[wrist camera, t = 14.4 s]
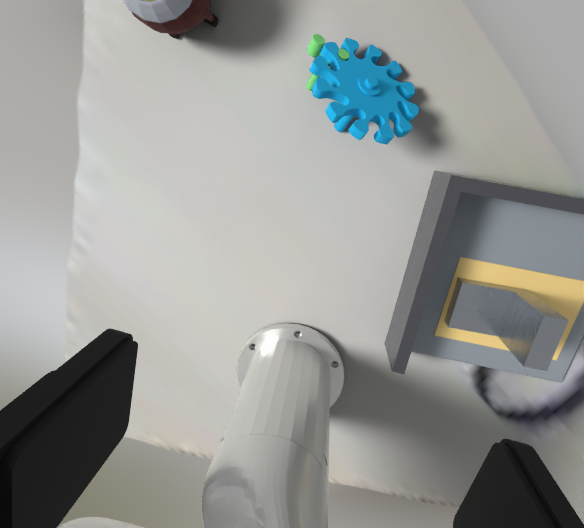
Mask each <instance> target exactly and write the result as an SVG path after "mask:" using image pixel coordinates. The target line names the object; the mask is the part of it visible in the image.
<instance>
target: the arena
mask: <svg viewBox="0 0 584 528" xmlns="http://www.w3.org/2000/svg"><path fill="white" fill-rule="evenodd" d="M458 277H459V278H465V279H470V280H476V281H481V282H487V283H493V284H498V285H504V286H509V287H515V288H521V289H526V290H529V291H530V292H531V293H533V294H534V295H535V296H537V297H538V298H539V299H541V300H542V301H543V302H545V303H546V304H548V305H549V306H550V307H552V308H553V309H554V310H556V311H557V312H558V313H560V314H561V315H562V316H564V317H565V318H566V319H568V320H569V321H568V323H567V326H566V328H565V330H564V333H563V335H562V337H561V340H560V342H559V344H558V347H557V349H556V351H555V353H554V356H553V358H552V360H551V363H550V365H549V367H548V370H547V371H544V370H538V369H533V368H528V367H523V365H522V364H521V363H520V362H519V361H518V360H517V358H516V357H515V356H514V355H513V354H512V353H511V351H510V350H509V349H508V348H507V347H506V346H505V344H504V343H503V342H502V341H501V340H500V339H499V337H498V336H492V335H487V334H482V333H476V332H471V331H466V330H460V329H455V328H450V327H448V326H447V324H446V323H445V321H444V320H445V317H446V314H447V310H448V307H449V304H450V301H451V298H452V294H453V291H454V288H455V285H456V282H457V278H458ZM583 336H584V198H581V197H575V196H570V195H564V194H559V193H553V192H548V191H542V190H537V189H532V188H526V187H521V186H515V185H510V184H504V183H499V182H493V181H488V180H482V179H477V178H471V177H466V176H460V175H455V174H449V173H444V172H438V171H434V174H433V177H432V181H431V184H430V188H429V191H428V195H427V198H426V202H425V205H424V209H423V212H422V216H421V219H420V223H419V226H418V230H417V233H416V237H415V240H414V244H413V247H412V251H411V254H410V258H409V261H408V265H407V268H406V272H405V275H404V279H403V282H402V286H401V289H400V292H399V296H398V299H397V303H396V306H395V310H394V313H393V317H392V320H391V324H390V327H389V331H388V334H387V338H386V341H385V346H386V350H387V354H388V358H389V362H390V366H391V370H392V372H397V373H401V374H404V373H405V369H406V366H407V363H408V360H409V357H410V353H411V351H413V352H417V353H422V354H427V355H432V356H436V357H441V358H446V359H451V360H456V361H460V362H465V363H470V364H475V365H479V366H484V367H489V368H494V369H498V370H503V371H508V372H513V373H518V374H522V375H527V376H532V377H537V378H541V379H546V380H551V381H556V382H562V380H563V378H564V375H565V373H566V371H567V369H568V367H569V365H570V363H571V361H572V359H573V357H574V354H575V352H576V350H577V348H578V346H579V344H580V342H581V340H582V338H583Z"/></svg>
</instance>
